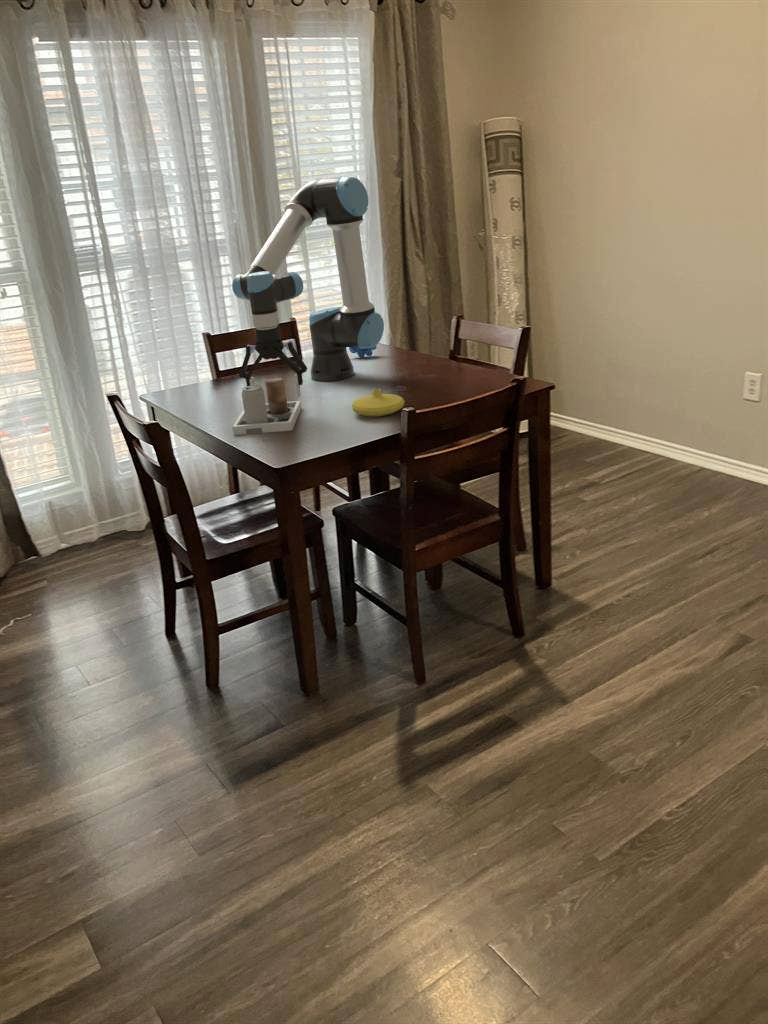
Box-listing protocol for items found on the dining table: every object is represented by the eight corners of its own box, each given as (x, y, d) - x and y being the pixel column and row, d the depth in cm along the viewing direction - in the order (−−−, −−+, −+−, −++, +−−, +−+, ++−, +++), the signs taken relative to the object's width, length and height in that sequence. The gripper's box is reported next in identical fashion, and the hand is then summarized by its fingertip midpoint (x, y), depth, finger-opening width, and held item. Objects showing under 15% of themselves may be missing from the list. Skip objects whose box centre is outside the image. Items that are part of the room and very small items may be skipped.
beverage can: (247, 425, 256) (241, 385, 252) (269, 422, 257) (263, 383, 252) (246, 431, 250) (239, 391, 246) (268, 429, 251) (262, 388, 246)
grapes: (345, 361, 322) (341, 329, 317) (347, 357, 328) (344, 325, 324) (376, 359, 321) (373, 326, 316) (378, 354, 327) (375, 323, 322)
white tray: (301, 408, 268) (300, 400, 267) (292, 430, 247) (291, 422, 246) (247, 413, 269) (246, 405, 268) (233, 435, 248) (232, 426, 247)
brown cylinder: (289, 412, 265) (285, 377, 261) (287, 417, 260) (282, 382, 255) (271, 413, 265) (266, 379, 261) (269, 419, 260) (263, 383, 256)
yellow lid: (354, 407, 264) (351, 385, 261) (405, 403, 263) (403, 380, 260) (350, 423, 249) (348, 399, 246) (405, 418, 248) (403, 395, 245)
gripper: (310, 320, 255) (319, 390, 263) (227, 328, 256) (238, 397, 264) (307, 325, 248) (316, 397, 256) (222, 333, 249) (233, 404, 258)
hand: (276, 397), depth 260 cm, fingers open, 13 cm apart
